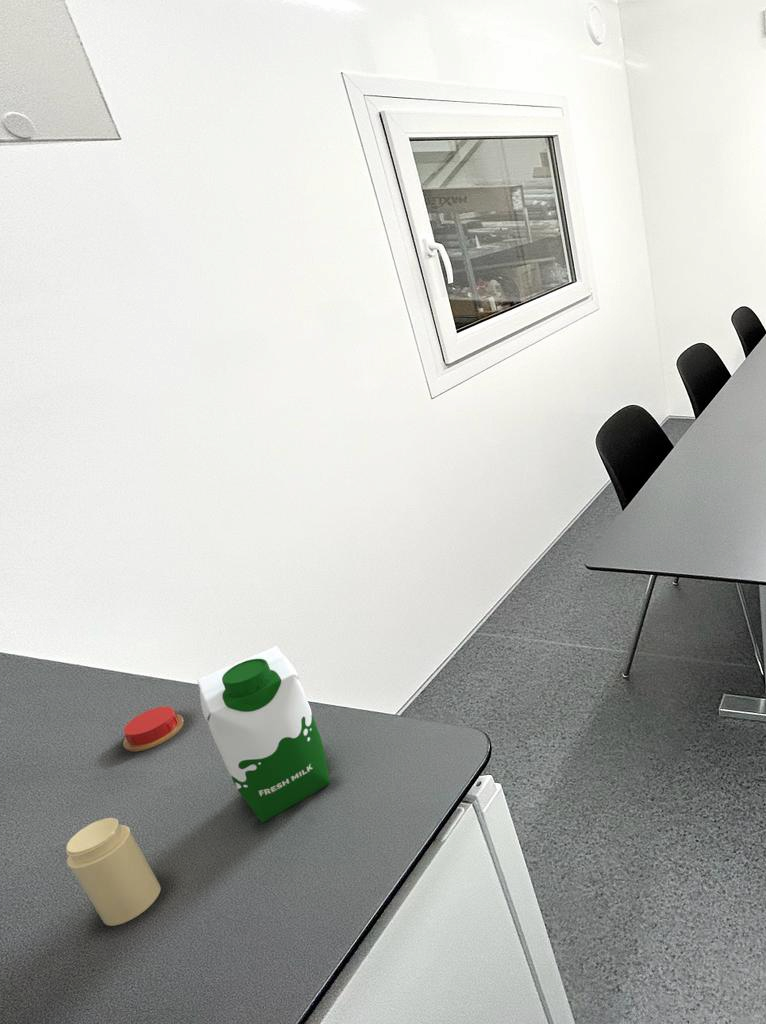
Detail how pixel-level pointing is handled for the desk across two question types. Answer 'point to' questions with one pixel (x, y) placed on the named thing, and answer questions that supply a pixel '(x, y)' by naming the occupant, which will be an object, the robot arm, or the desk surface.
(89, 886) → the jar
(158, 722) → the jar lid
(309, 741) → the milk carton
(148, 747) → the coaster
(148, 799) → the desk surface
